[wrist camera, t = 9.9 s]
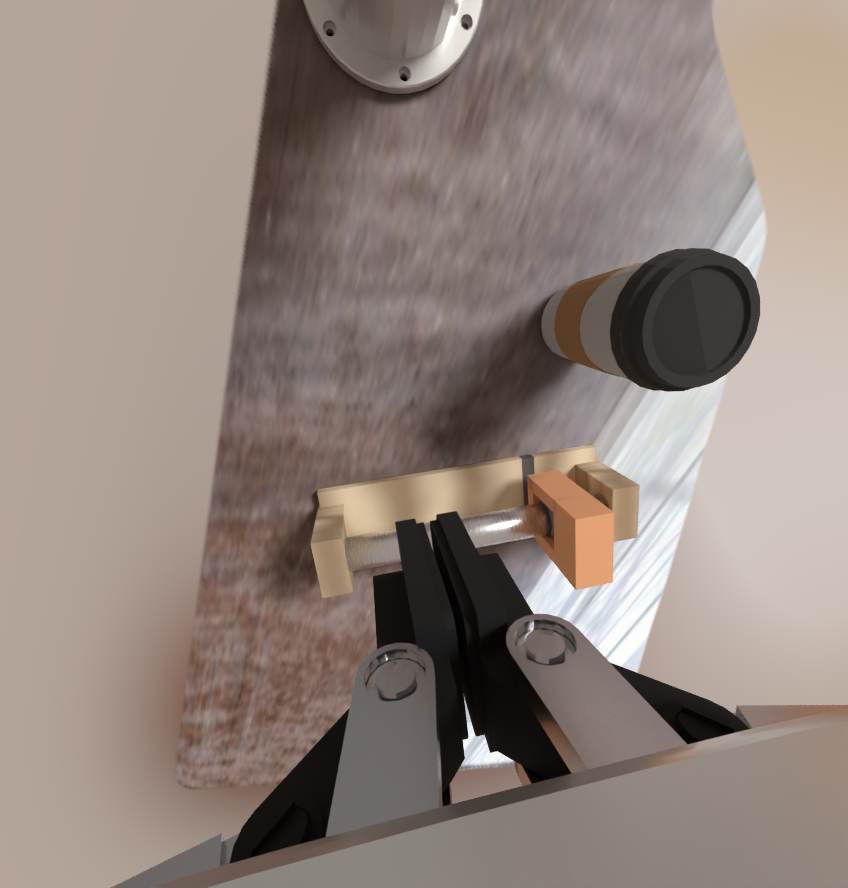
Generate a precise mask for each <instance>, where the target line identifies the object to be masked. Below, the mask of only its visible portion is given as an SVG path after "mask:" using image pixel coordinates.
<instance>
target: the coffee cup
mask: <svg viewBox="0 0 848 888" xmlns="http://www.w3.org/2000/svg"><path fill="white" fill-rule="evenodd" d="M759 317H760V296H759V292H758V288H757V284H756V281H755V279H754V278H753V276H752V274H751V273H750V271H749V269H748V268H747V267H746V266H744V265H743V264H742V263H741V262H740V261H738V260H737V259H735V258H733V257H730V256H727V255H725V254H721V253H719V252H716V251H713V250H711V249H696V248H690V249H675V250H672V251H669V252H665V253H662V254H659V255H657V256H656V257H654V258H652V259H651V260H649V261H647V262H644V263H641V264H639V263H637V264H633V265H630V266H626V267H623V268H620V269H617V270H613V271H610V272H607V273H604V274H601V275H597V276H594V277H591V278H588V279H585V280H582V281H579V282H577V283H575V284H572V285H569V286H566V287H564V288H562V289H561V290H559V291H557V292H556V293H555V294H554V295H553V296H552V297H551V298H550V300H549V302H548V303H547V305H546V307H545V309H544V312H543V315H542V323H541V329H542V335H543V338H544V340H545V343H546V345H547V346H548V347H549V348H550V349H551V351H552V352H554V353H555V354H557V355H558V356H561V357H564V358H567V359H569V360H572V361H574V362H576V363H578V364H581V365H584V366H587V367H590V368H593V369H596V370H599V371H602V372H605V373H608V374H612V375H615V376H619V377H623V378H626V379H629V380H631V381H633V382H634V383H636V384H637V385H639V386H640V387H644V388H647V389H651V390H663V391H685V390H688V389H691V388H694V387H700V386H703V385H706V384H709V383H712V382H714V381H716V380H717V379H719V378H721V377H722V376H724V375H726V374H727V373H728V372H729V371H730V370H731V369H732V368H733V367H734V366H736V365H737V364H738V363H739V361H740V360H741V359H742V357H743V356H744V354H745V353H746V351H747V350H748V348H749V347H750V345H751V342H752V340H753V338H754V336H755V333H756V330H757V326H758V321H759Z"/></svg>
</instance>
